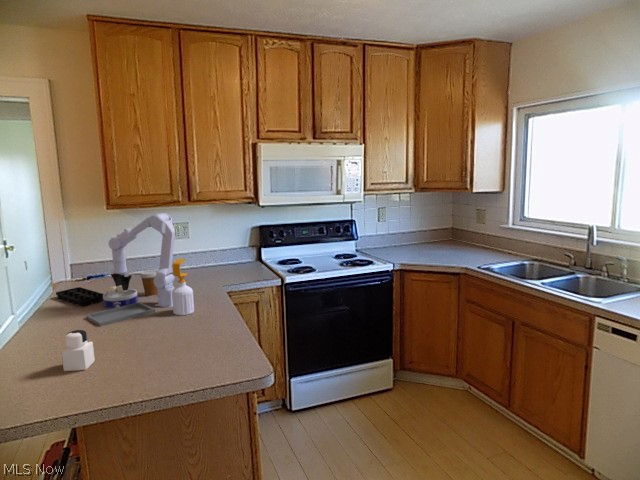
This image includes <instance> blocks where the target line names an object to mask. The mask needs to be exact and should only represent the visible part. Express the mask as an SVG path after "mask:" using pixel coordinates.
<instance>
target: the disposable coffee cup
mask: <svg viewBox="0 0 640 480" xmlns="http://www.w3.org/2000/svg"><path fill="white" fill-rule="evenodd" d="M157 271H158V270H155V269H154V270H153V269H151V270H145V271H141V273H140V277H141V281H142V282H141V283H142V287H143V290H144V294H145V297H150V296H158V293H157V287H156V286H155V285H154V278H155V276H156V272H157Z"/></svg>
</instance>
